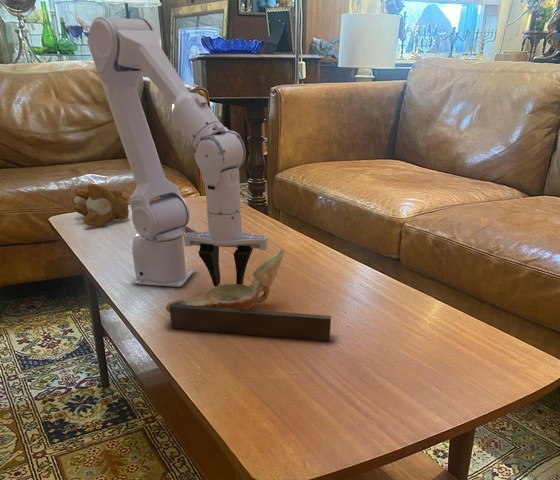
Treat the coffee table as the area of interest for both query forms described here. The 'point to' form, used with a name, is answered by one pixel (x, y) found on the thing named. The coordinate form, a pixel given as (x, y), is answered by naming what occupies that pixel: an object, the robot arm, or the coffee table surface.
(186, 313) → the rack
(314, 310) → the coffee table surface
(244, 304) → the oil lamp
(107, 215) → the stuffed squirrel
